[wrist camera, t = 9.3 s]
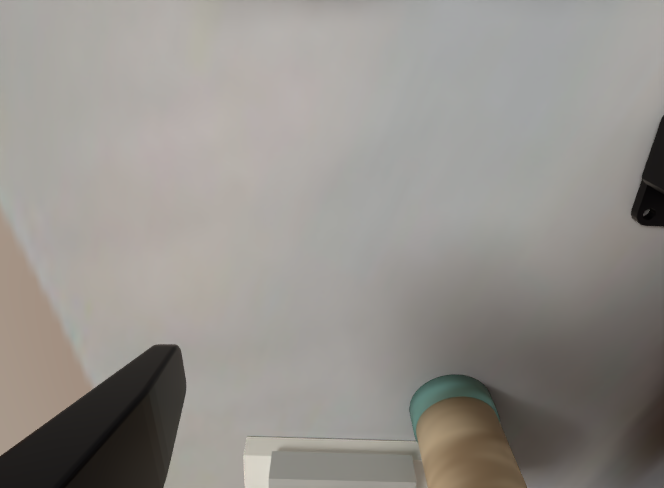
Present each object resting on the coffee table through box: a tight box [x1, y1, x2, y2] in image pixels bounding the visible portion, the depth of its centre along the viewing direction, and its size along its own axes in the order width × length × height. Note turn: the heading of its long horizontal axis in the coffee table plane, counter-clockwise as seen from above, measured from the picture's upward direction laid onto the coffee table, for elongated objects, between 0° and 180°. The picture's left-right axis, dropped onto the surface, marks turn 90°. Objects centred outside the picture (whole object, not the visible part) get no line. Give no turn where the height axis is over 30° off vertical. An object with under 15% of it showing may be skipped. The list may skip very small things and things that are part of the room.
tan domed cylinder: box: [409, 375, 527, 488], centre depth 22 cm, size 4×4×7 cm
